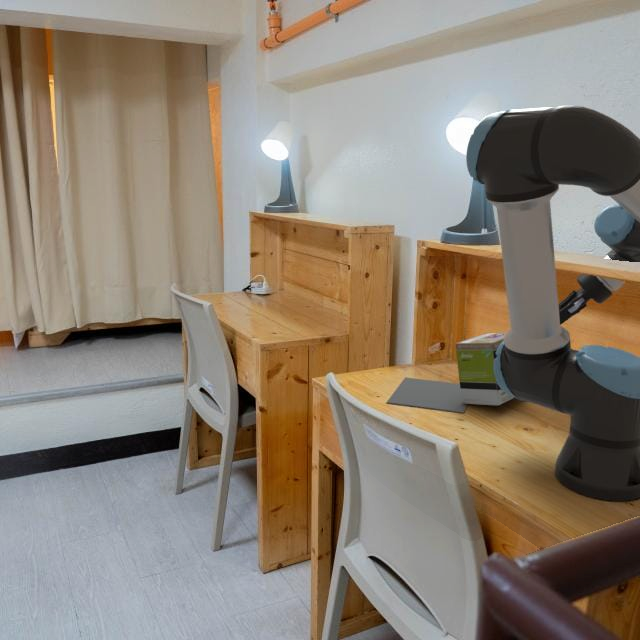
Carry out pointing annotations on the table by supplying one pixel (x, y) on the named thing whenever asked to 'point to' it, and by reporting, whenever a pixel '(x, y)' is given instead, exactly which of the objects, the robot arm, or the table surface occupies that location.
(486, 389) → the tea box
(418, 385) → the desk pad
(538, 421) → the table surface
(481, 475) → the table surface
